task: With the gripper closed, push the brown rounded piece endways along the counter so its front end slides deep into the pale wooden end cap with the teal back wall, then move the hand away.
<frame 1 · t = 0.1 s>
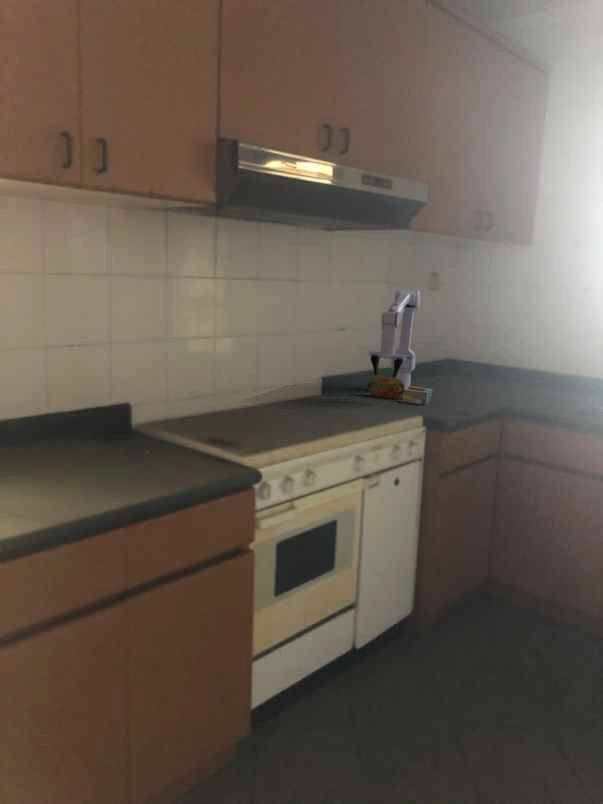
hand: (385, 376, 263), 10 cm above the worktop, tool pointing down, fingers open, 7 cm apart
brown rounded piece: (385, 397, 275), on the worktop
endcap: (416, 401, 270), on the worktop
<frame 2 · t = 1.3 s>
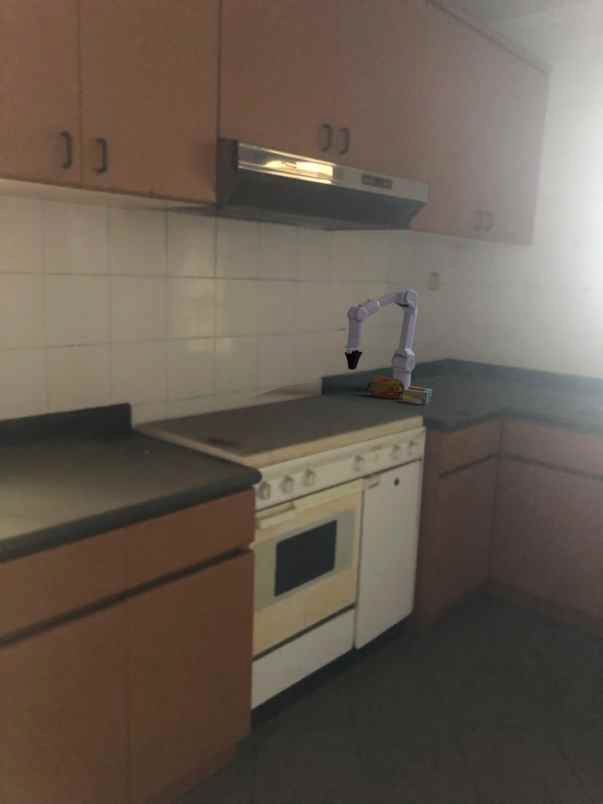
hand: (352, 369, 274), 10 cm above the worktop, tool pointing down, fingers open, 3 cm apart
nothing on the worktop moved.
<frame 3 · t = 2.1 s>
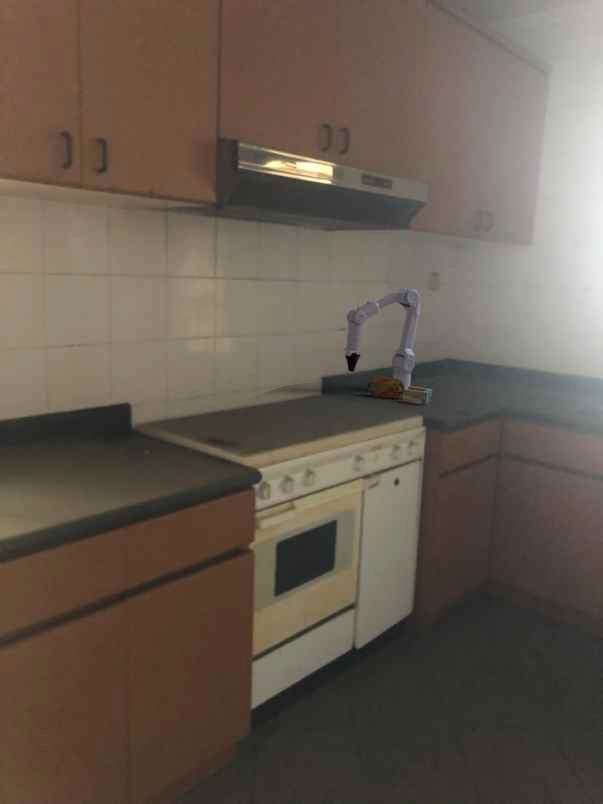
hand: (351, 371, 278), 9 cm above the worktop, tool pointing down, fingers closed
nothing on the worktop moved.
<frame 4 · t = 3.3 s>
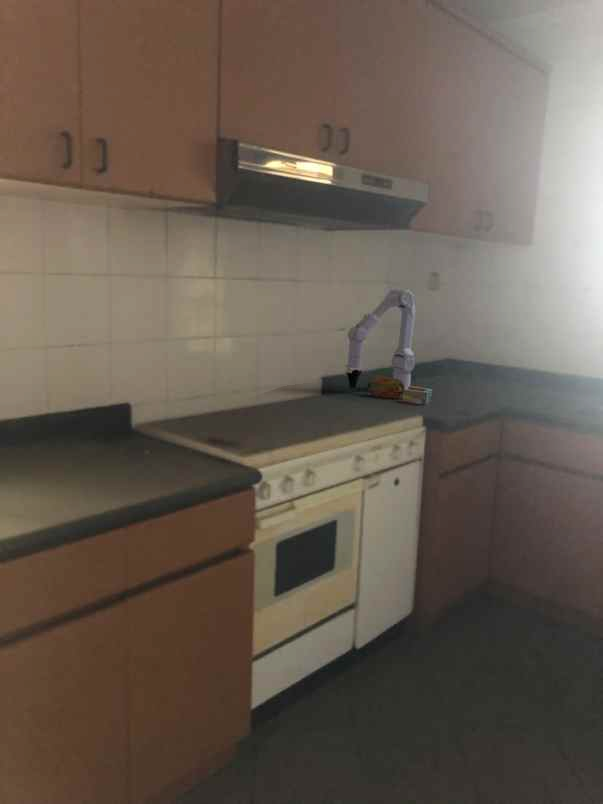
hand: (352, 387, 279), 2 cm above the worktop, tool pointing down, fingers closed
nothing on the worktop moved.
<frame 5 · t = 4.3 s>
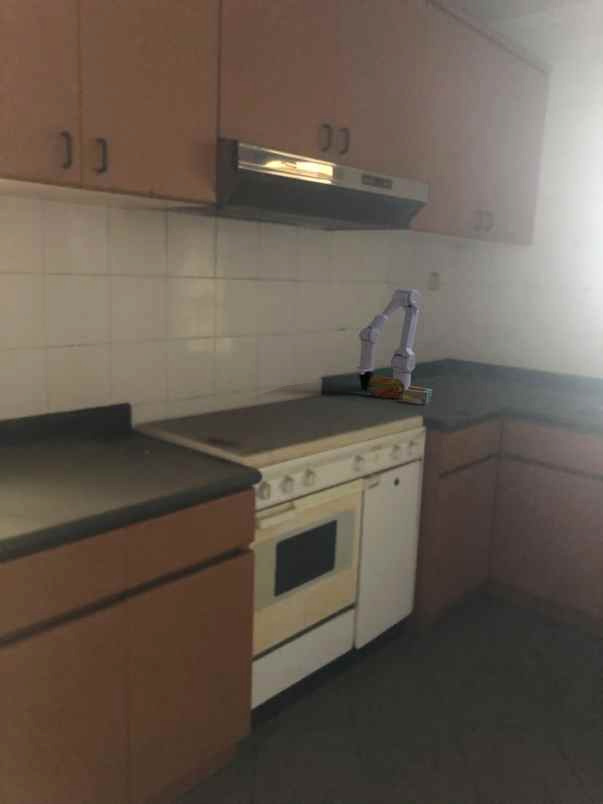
hand: (364, 389, 277), 2 cm above the worktop, tool pointing down, fingers closed, pressing on brown rounded piece
brown rounded piece: (385, 397, 275), on the worktop, touching gripper
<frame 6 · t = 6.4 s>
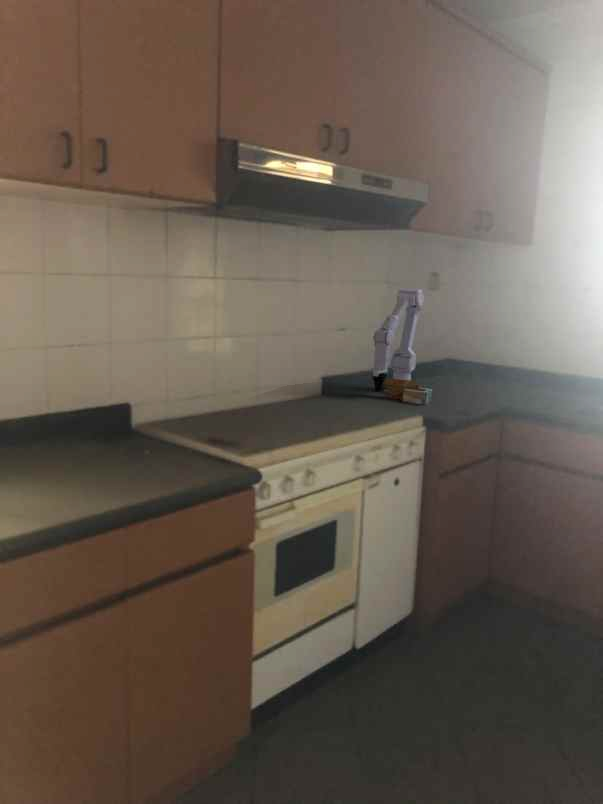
hand: (378, 391, 275), 2 cm above the worktop, tool pointing down, fingers closed
brown rounded piece: (399, 399, 272), on the worktop
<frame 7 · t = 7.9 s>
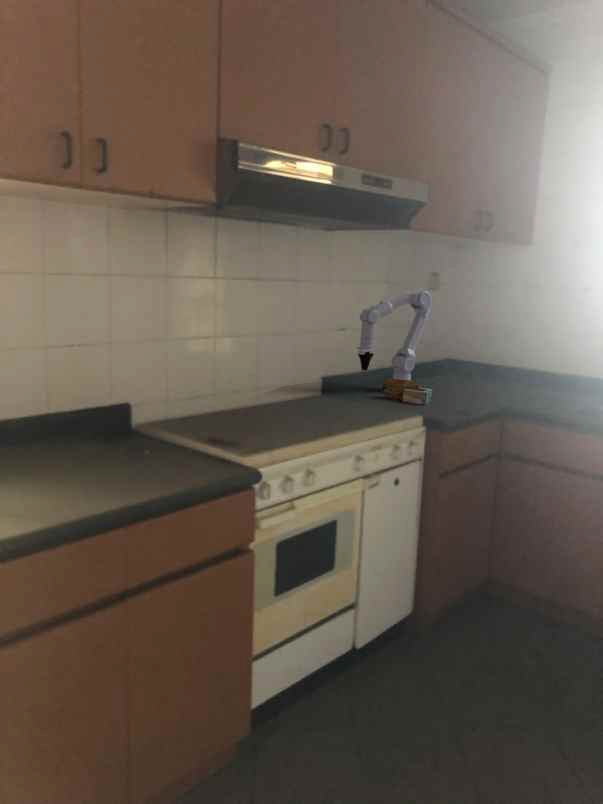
hand: (364, 370, 280), 9 cm above the worktop, tool pointing down, fingers closed
nothing on the worktop moved.
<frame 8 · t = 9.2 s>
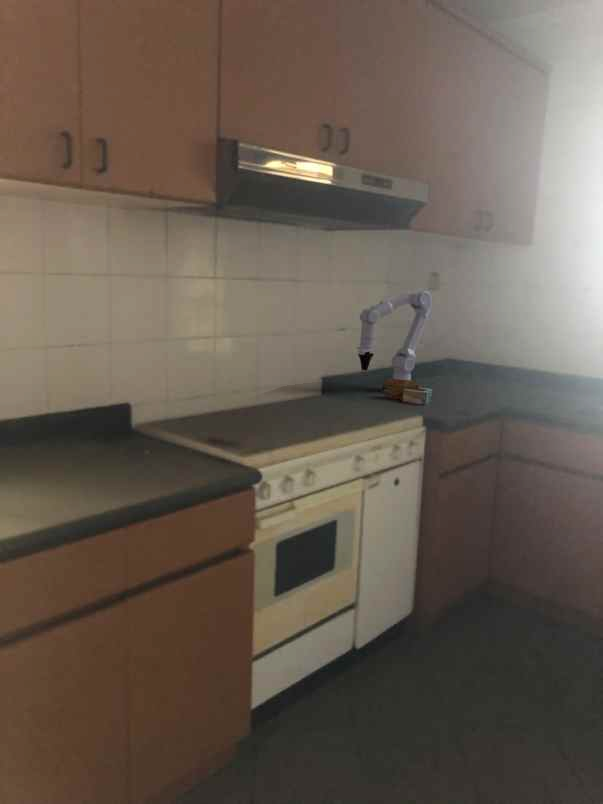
hand: (364, 370, 280), 9 cm above the worktop, tool pointing down, fingers closed
nothing on the worktop moved.
at the end: brown rounded piece 0.7 cm from the target spot, on the worktop; brown rounded piece tilted 0°; brown rounded piece moved 6.3 cm from its start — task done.
